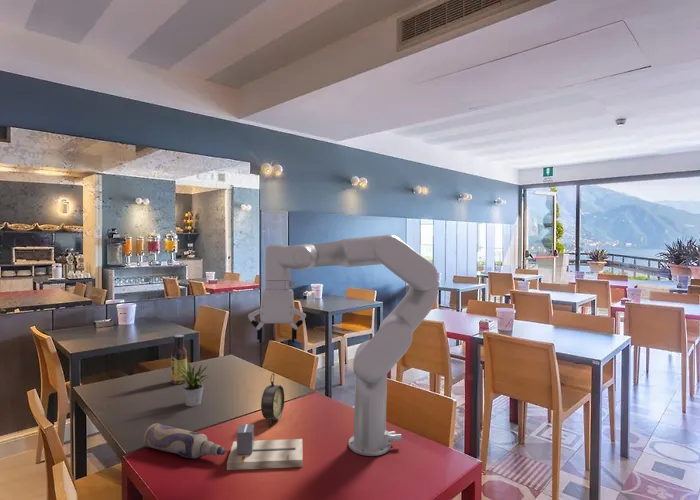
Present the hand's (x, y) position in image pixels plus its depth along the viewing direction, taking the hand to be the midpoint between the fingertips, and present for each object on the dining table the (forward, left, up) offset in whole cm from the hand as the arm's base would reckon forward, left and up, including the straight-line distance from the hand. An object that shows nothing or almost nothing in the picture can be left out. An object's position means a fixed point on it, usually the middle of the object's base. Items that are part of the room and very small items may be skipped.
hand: (277, 341), depth 132 cm
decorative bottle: (+26, +7, -31) cm, 41 cm away
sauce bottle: (+43, -55, -31) cm, 76 cm away
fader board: (+2, +10, -30) cm, 32 cm away
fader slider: (+8, +10, -28) cm, 31 cm away
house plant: (+33, -31, -31) cm, 55 cm away
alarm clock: (+2, -14, -31) cm, 34 cm away
